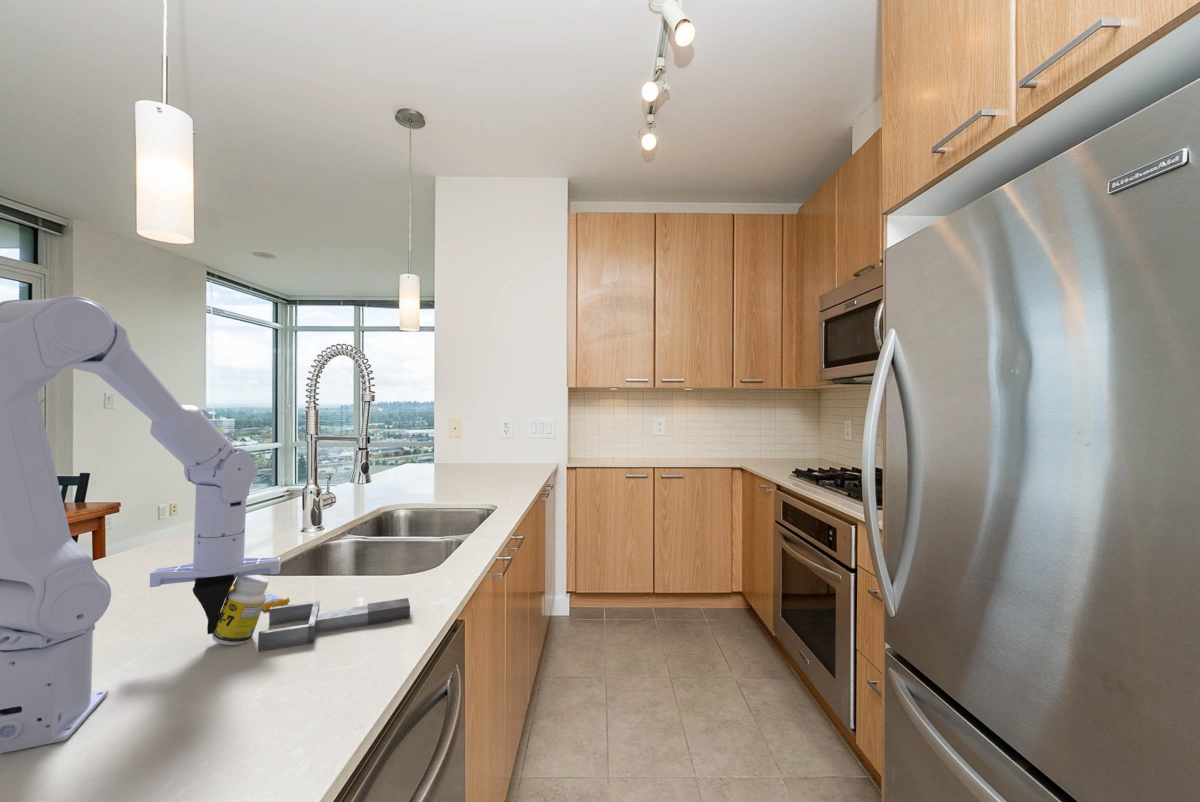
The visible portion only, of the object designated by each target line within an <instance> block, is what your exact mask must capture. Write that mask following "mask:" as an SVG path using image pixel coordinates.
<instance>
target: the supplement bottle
mask: <svg viewBox="0 0 1200 802" xmlns="http://www.w3.org/2000/svg"><path fill="white" fill-rule="evenodd" d="M269 582H270V581H269V579H268V578H266V577H264V576H262V575H249V576H239V577H236V579H235V581H234V582H233V584H234V587H233V588H234V589H232V590H231V591H230V592H229V593H228V594H227V597H226V599H225V601H224V604H223V606H222V609H221V612H220V616H219V619H218V621H217V628H216V630H215V632H214V634H211V635H212V636H211V637H212V640H213V641H215V642H216V643H218V644H220V645H225V646H239V645H244V644H246V643H248V642H249V641H251V640H252V638H253V635H254V632H255V629H256V627H257V624H258V621H259V620H260V615H261V612H262V611H263V610H262V608H263V605H264V602H265V599H266V595H265V593H264V592H266V590H267V588H268V585H269Z"/></svg>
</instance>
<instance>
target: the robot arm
mask: <svg viewBox="0 0 1200 802" xmlns="http://www.w3.org/2000/svg"><path fill="white" fill-rule="evenodd" d="M67 368H68V369H72V370H73V369H74V370H77V371H82V372H87V373H92V374H95V375H96V376H98V377H99V378H101V379H102V380H103V381H104V382H105V383H107V384H108V385H109V386H110V387H111V388H113V389H114V390H115V391H116V392H117V393H119V394H120V395H121V396H122V397H123V398H124V399H126V400H127V401H128V402H129V403H130V404H132V406H134V407H135V408H137V409H138V411H140V412H141V413H142V414H144V415H145V416H146V417H147V418H149V420H150V421H151V424H150V428H149V429H150V430H149V431H150V435H151V436H152V438H154V439H155V440H156V441H157V442H158V443H159V444H160V445H161V446H162V447H164V448H165V450H166V451H168V452H169V453H170V454H171V455H172V456H173V457H174V458H176V460H177V461H179V463H181V464H182V465H183V473H184V477H185V479H186V481H187V482H189V483H192V484H193V485H195V499H194V500H195V501H194V502H195V507H194V527H193V528H194V532H193V533H194V534H193V535H194V536H193V556H192V557H193V558H192V559H193V560H192V563H186V564H180V565H173V566H167V567H160V568H154V569H153V570H152V571H151V572H150V573H149V588H157V587H161V586H162V585H170V584H171V585H172V584H178V583H179V584H181V583H182V584H183V583H189V582H194V585H193V587H192V592H193V595H194V596H195V598H196V600H198V602H199V603H200V605H201V607H202V608H203V611H204V612H205V613H204V614H205V615H206V618H207V629H206V630H207V632H206V633H207V635H213V634H214V632H215V630H216V628H217V621H218V619H219V616H220V613H221V610H222V608H223V605H224V602H225V600H226V597H227V595H228V592H229V590H230V588H231V586H232V584H234V583H235V581H236V579H237V577H239V576H249V575H256V576H259V575H267V574H269V575H278V574H280V571H281V559H282V558H281V556H275V557H245V544H246V543H245V541H246V512H247V511H246V510H247V499H248V496H250V488H251V485H252V483H253V481H255V479H256V477H257V474H258V470H259V466H258V465H256V463H255V460H254V459H253V457H252V455H251V454H250V452H248V451H247V450H245V449H243V448H240V447H239V448H238V447H234V444H233V443H232V442H233V440H232V439H231V438H230V437H229V436H228V435H224V434H223V433H222V432H221V430H219V428H218V427H217V426H216V425H215V424H214V423H213V422H212V421H211V420H210V419H209V418H210V417H211V414H210V413H209V412H208V411H207V410H206V409H199V407H197V406H195V405H192V404H191V405H190V404H189V405H188V404H181V403H180V402H179V401H178V400H177V399H176V397H175V396H174V395H173V394H172V393H171V392H170V390H169V389H168V388H167V387H166V385H164V383H163V382H162V381H161V380H160V379H159V377H158V376H157V375H156V374H155V373H154V371H153V370H152V369H151V368H150V367H149V366H148V364H147V363H146V362H145V361H144V359H143V358H142V357H141V356H140V355H139V354H138V352H137V351H136V350H135V349H134V348H133V346H132V345H131V343H130V339H129V337H128V333H127V330H126V329H125V328H124V327H123V326H122V325H121V324H119V323H118V322H117V321H115V320H114V321H113V318H112V317H111V315H110V313H109V312H108V311H107V310H106V309H105V308H104V306H102V305H101V304H99V303H98V302H96V301H94V300H92V299H90V298H87V297H83V296H78V295H62V296H57V297H54V298H53V297H52V298H42V299H41V298H39V299H28V300H25V299H23V300H22V299H10V300H4V301H1V302H0V754H3V753H4V752H5V753H8V752H9V753H10V752H13V751H19V750H24V749H29V748H34V747H39V746H44V745H48V744H54V743H59V742H63V741H65V740H67V739H69V738H70V737H71V735H72V734H73V733H74V732H75V731H76V730H77V729H78V728H79V727H80V726H81V724H82V723H83V722H84V721H85V720H86V719H87V718H88V716H89V715H90V714H91V713H92V712H93V711H94V710H95V708H97V706H98V705H99V704H100V703H101V702H102V701H103V699H104V698H106V696H107V695H108V694H109V689H108V688H106V689H105V688H103V689H98V690H93V691H92V686H93V685H92V679H93V678H92V677H93V649H94V648H93V647H94V645H93V643H94V631H95V629H96V623H97V622H98V621H99V620H100V619H101V618H102V617H103V616H104V614H105V613H106V612H107V610H108V607H109V606H110V603H111V599H112V589H111V586H110V584H109V582H108V581H107V579H106V578H105V577H103V576H102V575H101V574H100V573H98V571H97V570H96V568H95V565H94V562H93V558H92V556H91V555H90V554H89V553H88V552H87V551H86V550H85V549H84V548H82V547H81V546H80V545H79V543H77V542H76V541H75V540H74V538H73V537H72V533H71V531H70V526H69V525H70V524H69V521H68V517H67V513H66V509H65V505H64V501H63V497H62V496H63V495H62V492H61V488H60V483H59V480H58V476H57V472H56V467H55V463H54V459H53V454H52V450H51V447H50V443H49V437H48V434H47V429H46V425H45V421H44V416H43V411H42V407H41V404H40V400H39V395H38V392H39V391H40V390H41V389H42V388H43V387H44V386H46V385H47V384H49V382H51V380H53V379H54V378H55V377H57V376H58V375H59V374H60V373H61V372H62V371H64V370H65V369H67Z"/></svg>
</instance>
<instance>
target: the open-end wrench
mask: <svg viewBox="0 0 1200 802" xmlns="http://www.w3.org/2000/svg"><path fill="white" fill-rule="evenodd" d="M268 612H269V616H268V619H269V620H268V621H269V623H268V626H274V625H278V624H279V625H281V624H286V623H295V622H301V621H307V620H308V624H302V625H301V624H300V625H295V626H287V627H281V628H274V629H269V630H267V629H266V630H263V631H262V630H261V631H259V632H258V634H257V635H258V637H257V638H258V639H257V640H258V641H257V652H258V653H259V652H266V651H272V650H278V649H284V648H290V647H296V646H302V645H307V644H308V645H309V644H315V639H316V635H317V633H325V632H329V631H337V630H344V629H348V628H350V629H351V628H354V627H356V628H357V627H361V626H370V625H371V626H372V625H377V624H382V623H383V624H385V623H390V622H395V621H396V622H397V621H401V620H402V619H404V620H409V619H408V618H410V619H411V604H410V601H409V598H408V597H407V598H406V597H405V598H399V599H393V600H385V601H377V602H370V603H367V605H360V606H355V607H349V608H340V609H333V610H328V611H326V610H325V611H321V612H320V600H317V601H316V600H315V601H308V602H302V603H294V604H293V603H292V604H287V605H285V606H277V607H270V609H269V611H268Z"/></svg>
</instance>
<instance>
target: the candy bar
mask: <svg viewBox="0 0 1200 802" xmlns="http://www.w3.org/2000/svg"><path fill="white" fill-rule="evenodd" d="M233 587H234V583H233V584H232V586H231V588H230V590H229V592H230V591H231V590H232V589H234V588H233ZM229 592H228V593H229ZM264 593H265V595H266V599H265V602H264V605H263V608H262V611H264V612H269V611H268V610H269V609H270V607H277V606H284V605H289V603H290V602H291V601H290V597H287V598H286V599H285V598H282V597H279V596H276V595H274V594H272V593H269V592H266V591H265V592H264Z"/></svg>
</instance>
